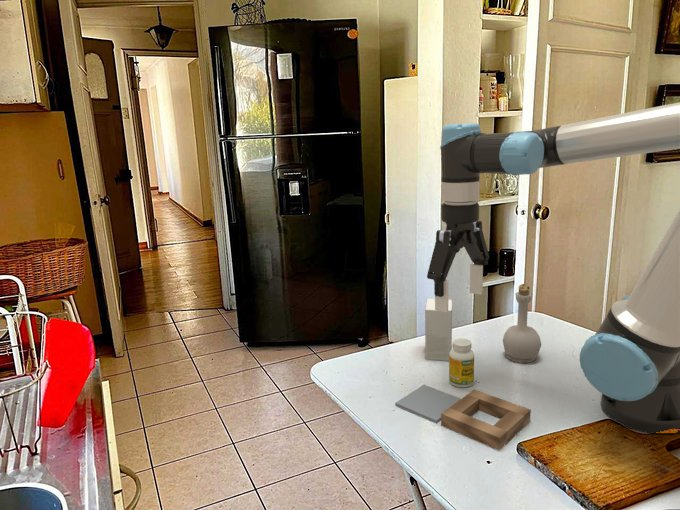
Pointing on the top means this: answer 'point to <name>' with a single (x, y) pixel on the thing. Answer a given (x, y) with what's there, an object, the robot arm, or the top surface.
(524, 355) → the potion bottle
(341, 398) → the top surface
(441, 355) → the small box
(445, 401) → the rest mat
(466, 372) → the supplement bottle
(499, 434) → the socket block
